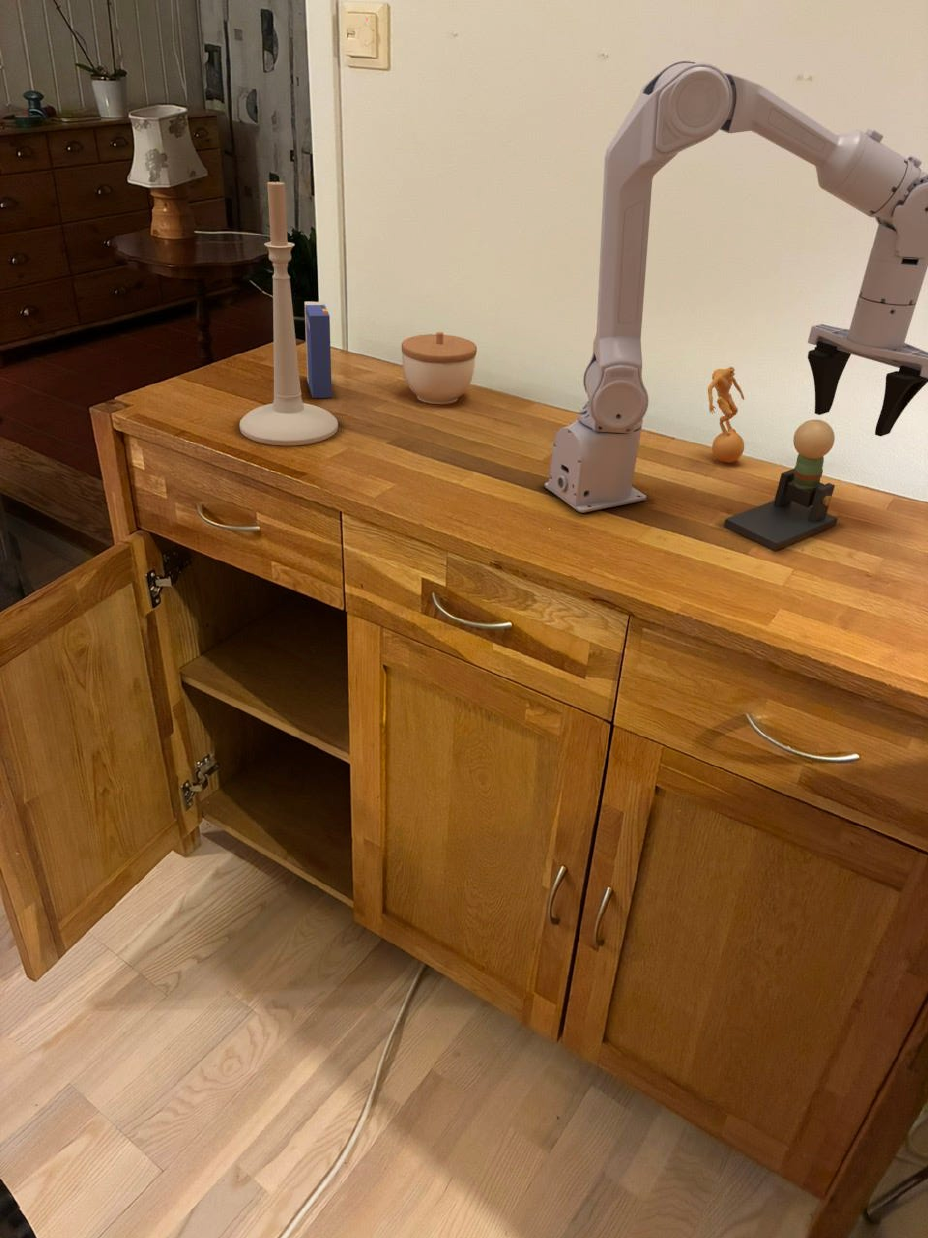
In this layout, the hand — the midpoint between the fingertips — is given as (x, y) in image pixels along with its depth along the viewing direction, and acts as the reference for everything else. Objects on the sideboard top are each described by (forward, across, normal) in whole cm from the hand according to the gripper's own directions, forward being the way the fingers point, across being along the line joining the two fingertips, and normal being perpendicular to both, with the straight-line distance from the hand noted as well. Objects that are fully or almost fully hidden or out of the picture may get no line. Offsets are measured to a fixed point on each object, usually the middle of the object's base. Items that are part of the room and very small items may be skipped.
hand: (851, 423), depth 103 cm
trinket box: (+11, +54, +17) cm, 58 cm away
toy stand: (+10, 0, +9) cm, 14 cm away
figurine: (+11, +17, 0) cm, 20 cm away
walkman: (+11, +66, +30) cm, 73 cm away
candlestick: (+11, +54, +42) cm, 69 cm away
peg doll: (+8, 0, +6) cm, 10 cm away
